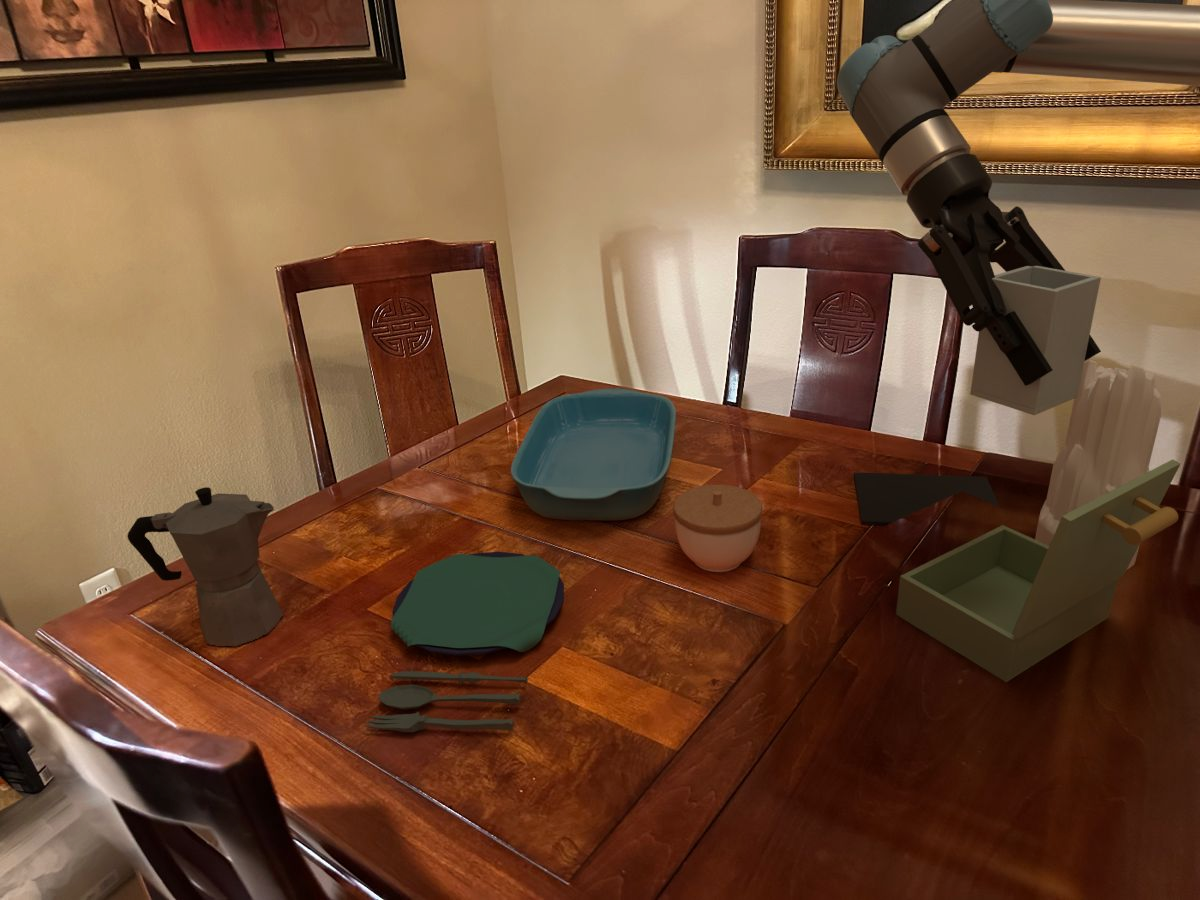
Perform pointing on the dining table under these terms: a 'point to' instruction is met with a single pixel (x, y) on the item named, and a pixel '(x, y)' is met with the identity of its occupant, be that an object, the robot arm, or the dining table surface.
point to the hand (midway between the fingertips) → (1063, 368)
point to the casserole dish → (596, 455)
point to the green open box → (992, 603)
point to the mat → (911, 493)
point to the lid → (1097, 545)
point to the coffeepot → (218, 563)
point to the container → (1039, 337)
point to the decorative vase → (1102, 441)
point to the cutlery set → (469, 626)
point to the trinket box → (717, 525)
